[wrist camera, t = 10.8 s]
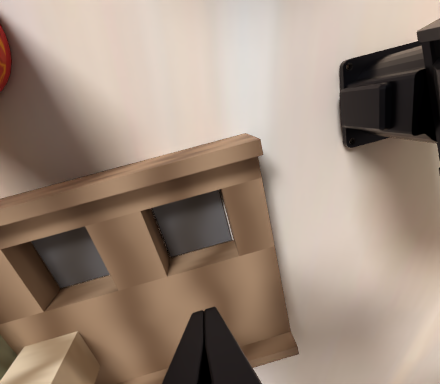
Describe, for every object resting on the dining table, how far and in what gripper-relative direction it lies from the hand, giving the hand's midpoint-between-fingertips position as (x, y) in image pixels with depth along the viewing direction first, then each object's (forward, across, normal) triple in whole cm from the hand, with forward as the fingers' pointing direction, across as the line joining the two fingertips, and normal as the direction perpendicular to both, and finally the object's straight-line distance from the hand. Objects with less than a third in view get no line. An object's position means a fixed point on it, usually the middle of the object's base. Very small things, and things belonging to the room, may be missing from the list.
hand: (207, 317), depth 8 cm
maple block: (+10, +15, +10) cm, 20 cm away
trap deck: (+12, +7, +6) cm, 15 cm away
